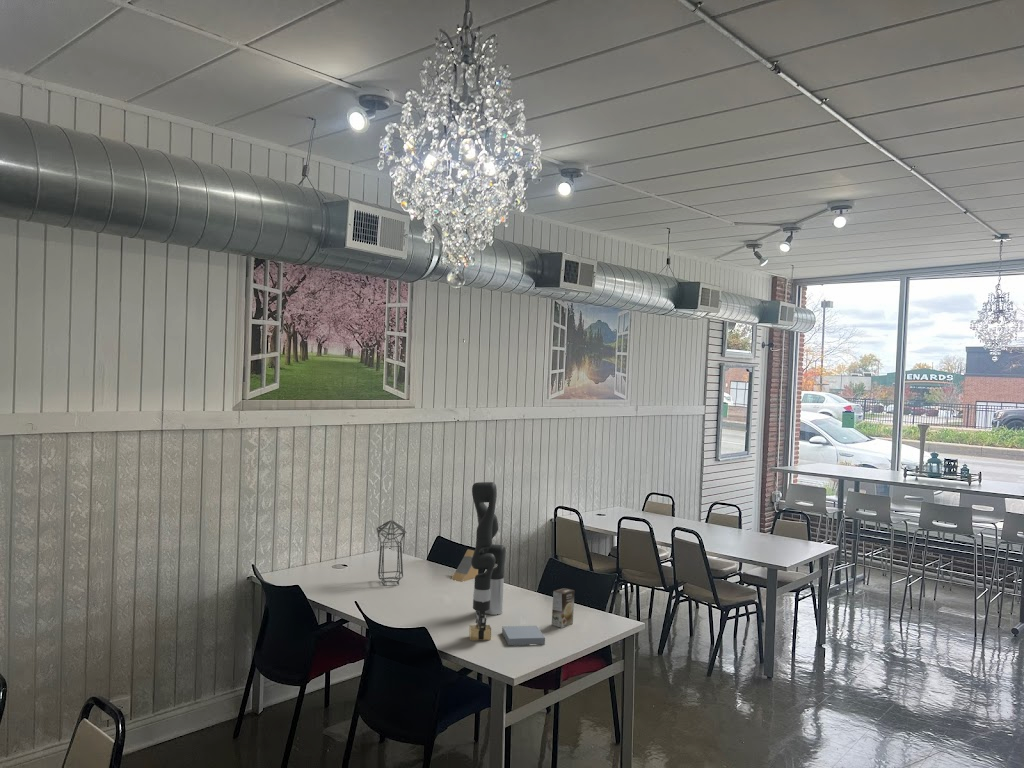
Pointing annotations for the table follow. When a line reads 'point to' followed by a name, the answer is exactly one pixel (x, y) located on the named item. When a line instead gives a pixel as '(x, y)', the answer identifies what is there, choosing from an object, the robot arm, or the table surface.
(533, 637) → the slate board
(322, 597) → the table surface
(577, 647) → the table surface
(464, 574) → the sandwich container
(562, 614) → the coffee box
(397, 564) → the geometric lantern
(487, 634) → the tan rectangular block
